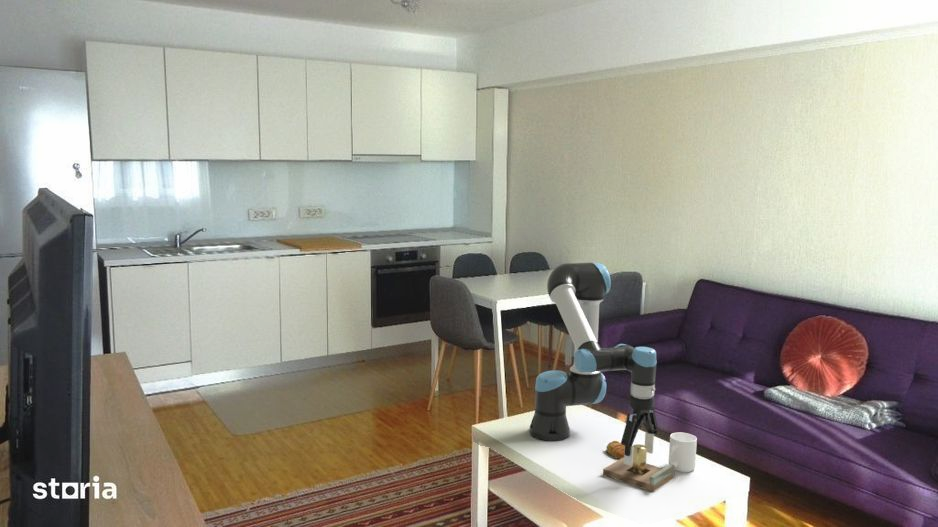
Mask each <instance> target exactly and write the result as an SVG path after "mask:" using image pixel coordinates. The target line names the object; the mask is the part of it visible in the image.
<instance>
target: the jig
mask: <svg viewBox="0 0 938 527" xmlns="http://www.w3.org/2000/svg"><path fill="white" fill-rule="evenodd" d="M602 475H603V476H606V477H609V478H611V479H614V480H618V481H621V482H623V483H627V484H629V485H632V486H636V487H638V488H641V489H644V490H647V491H650V492H655V491H656V490H658V489H660V488H661V487H662V486H664V485H665V484H667V483H668V482H670V481H671V480H673V479H674V478H675V470H674V465H673V464H669V463H668V465H666V466H665V467H663V468H662V467H660V466H656V465H652V464H649V463H647V462H646V473H645V474H644V475H643V476H641V475H638V474H635V473H632V466H629V465H626V464H624V457H623V458H621V459H618V460H616V461H614V462H612V463H611V464H609V465H607V466H606V467H604V468H602Z"/></svg>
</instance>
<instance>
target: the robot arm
mask: <svg viewBox="0 0 938 527" xmlns="http://www.w3.org/2000/svg"><path fill="white" fill-rule="evenodd" d="M611 285H612V283H611V275H610V272H609V271H608V268H607V267H606V266H605V265H604V264H602V263H599V262H591V261H590V262H577V263H576V262H575V263H574V262H573V263H569V262H567V263H562V264H560V265H558V266H556V267H555V268H554V269H553V270H552V271H551V272H550V274H549V276H548V279H547V286H546V287H547V288H546V289H547V293H548V296H549V298H550V301H551V302H552V303H554V304H555V305H556V307H557V309H558V312H559V314H560V316H561V319H562V320H563V323H564V325H565V327H566V329H567V332H568V334H569V335H570V338H571V340H572V342H573V345H574V351H573V352H574V355H573V365H571V366H570V367H569V374H567V372H565V371H564V370H560V369H559V370H555V369H554V370H553V369H552V370H547V371H544V372H541V373H539V374H538V375H537V377H536V378H535V386H534V390H535V391H534V414H533V416H532V420H531V422H530V425H529V435H530V436H532V437H533V438H535V439H537V440H542V441H547V442H549V441H550V442H555V441H563V440H566V439H568V438H569V437H570V435H571V429H570V428H571V427H570V425H569V422H568V419H567V415H566V414H567V407H572V406H573V407H574V406H584V405H585V406H591V405H593V404H599V403H600V402H602V401H603V400H604V398H605V396H606V393H607V382H606V377H605V375H604V374H603V373H602V372H611V371H613V372H614V371H628V372H629V373H631V374H630V375H631V376H630V390H629V391H630V392H629V393H630V396H629V406H630V408H631V409H632V410H633V411H632V414H631V413H628V414H627V417H626V424H625V426H624V430H623V434H622V438H621V442H620V443H621V444H622V445H625V452H624V464H626V465H629V466H633V450H634V446H633V445H634V442H635V439H636V437H637V434H638V431H639V429H640V428H642V426H643V425H644V429H645V430H646V432H645V434H644V446H646V447H647V453H648V454H651V455H652V454H654V441H655V440H654V439H655V435H657V434H658V429H659V427H658V422H657V418H656V417H657V416H656V413H655V411H656V410H655V397H654V396H655V391H656V373H657V363H658V361H657V351H656V350H655V349H654V348H652V347H648V346H636V347H633V346H632V345H629V344H625V343H618V344H617V345H615V346H614V347H604V348H603V347H601V346H600V344H599V325H600V323H599V321H600V320H599V319H600V304H601V303H602V302H603V301H604V299H605V298H604V296H605V295H606V294H608V293H609V292H610V289H611Z"/></svg>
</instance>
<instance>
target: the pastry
mask: <svg viewBox="0 0 938 527" xmlns="http://www.w3.org/2000/svg"><path fill="white" fill-rule="evenodd" d="M606 451H607V453H608V454H609V455H610V456H612V457H614V459H615V458H616V459H618V460H620V459H621V458H623V457H624V452H625V445H622V444H621V442H620V441H619V440H612V441H610V442H609V443H608V444H607V445H606Z"/></svg>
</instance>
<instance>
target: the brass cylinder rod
mask: <svg viewBox="0 0 938 527" xmlns="http://www.w3.org/2000/svg"><path fill="white" fill-rule="evenodd" d="M632 446H634V450H633V466H632V473H635V474H638V475H641V476H643V475H644V474H645V473H646V463H647V453H648V452H647V447H646V446H645V444H639V443H638V444H637V443H636V444H633V445H632Z"/></svg>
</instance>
